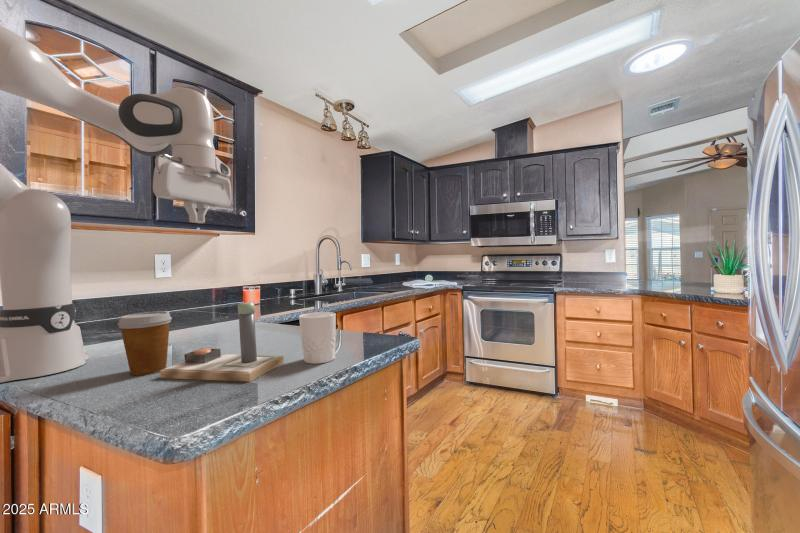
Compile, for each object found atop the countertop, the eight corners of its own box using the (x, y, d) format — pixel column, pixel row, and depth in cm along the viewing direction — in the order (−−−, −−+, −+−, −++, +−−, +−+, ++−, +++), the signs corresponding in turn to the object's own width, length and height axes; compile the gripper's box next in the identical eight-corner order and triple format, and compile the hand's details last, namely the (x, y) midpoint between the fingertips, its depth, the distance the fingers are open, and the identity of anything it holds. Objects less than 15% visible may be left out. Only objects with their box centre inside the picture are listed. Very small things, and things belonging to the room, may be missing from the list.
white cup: (329, 365, 78) (327, 317, 77) (294, 364, 79) (292, 317, 79) (342, 355, 85) (340, 311, 85) (310, 354, 87) (308, 311, 87)
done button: (191, 361, 78) (190, 352, 78) (202, 357, 81) (201, 348, 81) (204, 362, 78) (203, 352, 77) (215, 357, 81) (214, 348, 81)
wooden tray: (160, 378, 74) (159, 360, 73) (204, 360, 85) (203, 345, 85) (250, 381, 69) (249, 362, 69) (283, 362, 81) (283, 346, 81)
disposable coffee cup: (185, 365, 82) (182, 311, 82) (145, 379, 73) (141, 318, 73) (151, 363, 85) (148, 310, 84) (108, 377, 76) (104, 318, 75)
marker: (238, 363, 75) (234, 304, 75) (244, 359, 79) (241, 302, 78) (254, 362, 75) (250, 304, 75) (259, 358, 79) (256, 302, 78)
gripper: (168, 149, 75) (171, 217, 76) (235, 171, 95) (237, 225, 96) (143, 152, 77) (146, 219, 77) (214, 173, 97) (216, 226, 97)
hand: (197, 222), depth 87 cm, fingers closed
